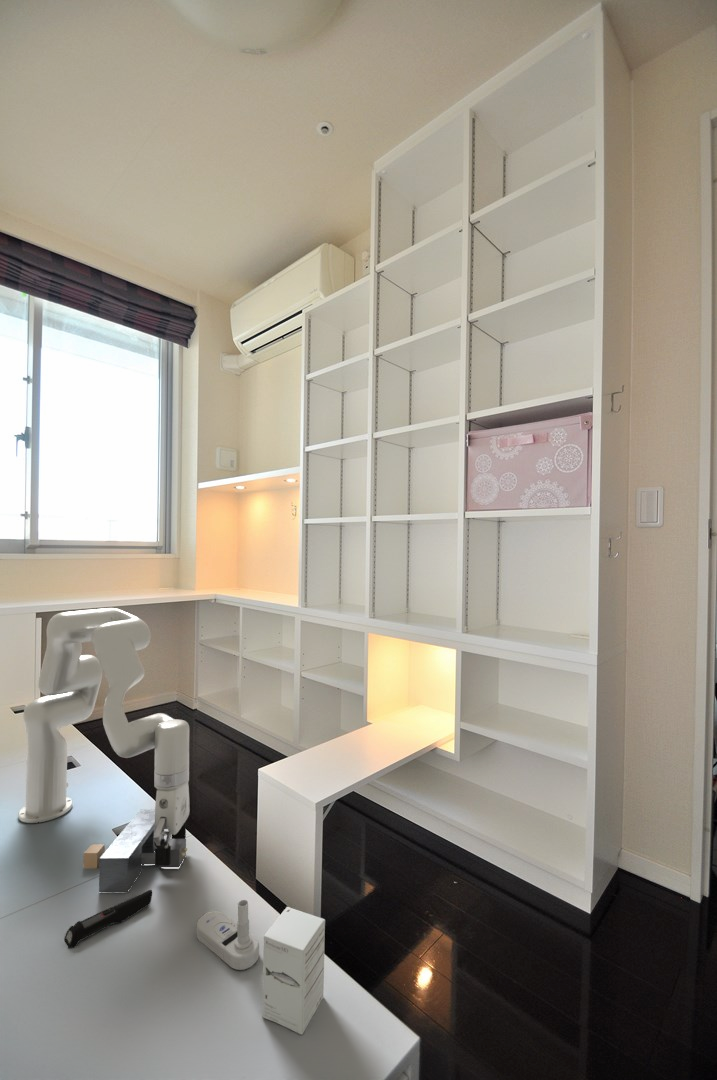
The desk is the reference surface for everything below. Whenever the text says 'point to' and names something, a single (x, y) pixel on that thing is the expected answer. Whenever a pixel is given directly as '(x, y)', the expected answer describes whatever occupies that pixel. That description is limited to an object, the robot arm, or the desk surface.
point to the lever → (177, 854)
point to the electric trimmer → (106, 918)
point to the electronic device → (229, 937)
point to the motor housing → (127, 853)
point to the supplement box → (293, 969)
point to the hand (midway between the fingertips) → (171, 851)
